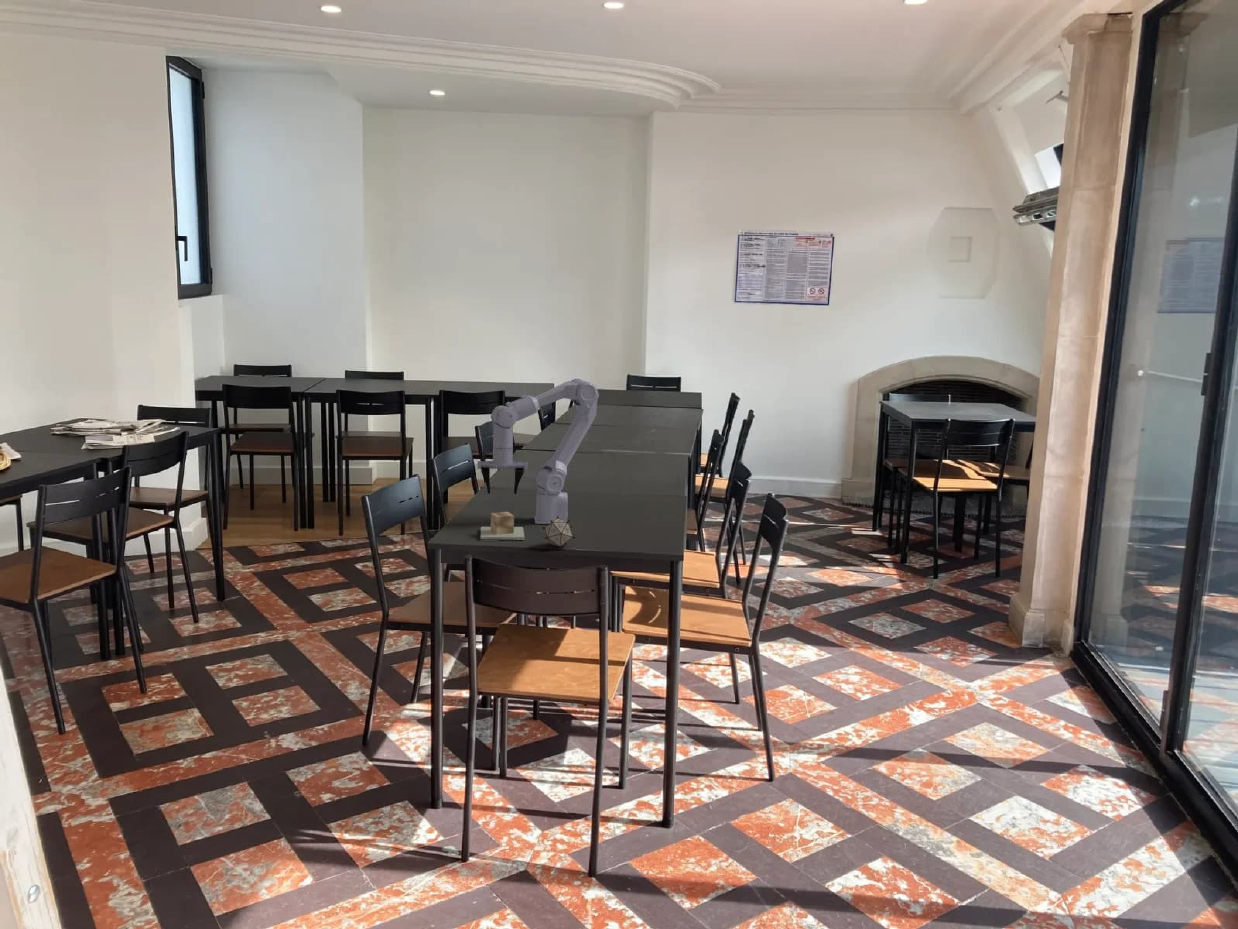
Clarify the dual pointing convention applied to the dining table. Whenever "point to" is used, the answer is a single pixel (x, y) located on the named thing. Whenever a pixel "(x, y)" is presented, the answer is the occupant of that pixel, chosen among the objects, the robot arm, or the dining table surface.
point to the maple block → (502, 523)
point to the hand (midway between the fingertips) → (502, 493)
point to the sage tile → (489, 534)
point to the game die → (558, 532)
